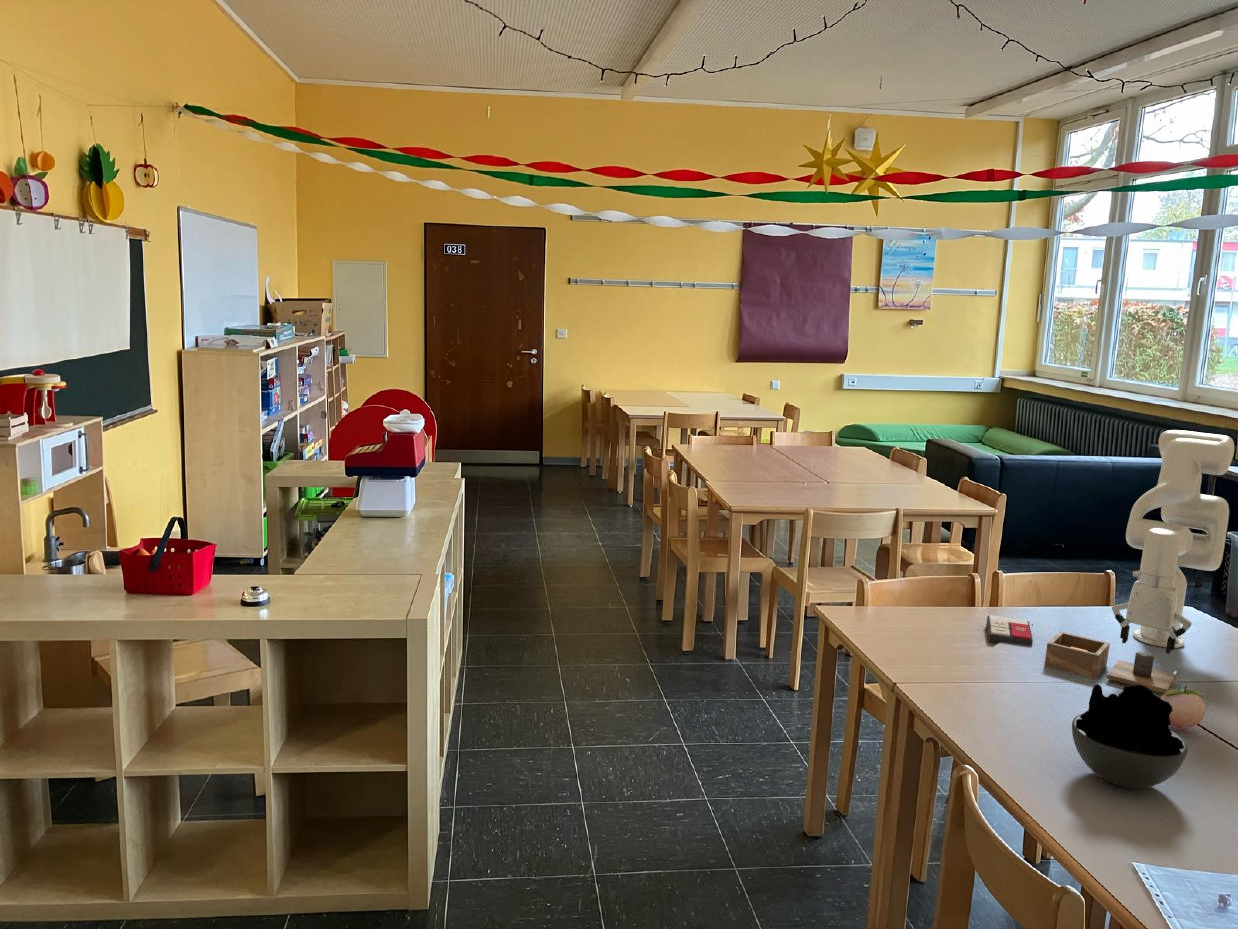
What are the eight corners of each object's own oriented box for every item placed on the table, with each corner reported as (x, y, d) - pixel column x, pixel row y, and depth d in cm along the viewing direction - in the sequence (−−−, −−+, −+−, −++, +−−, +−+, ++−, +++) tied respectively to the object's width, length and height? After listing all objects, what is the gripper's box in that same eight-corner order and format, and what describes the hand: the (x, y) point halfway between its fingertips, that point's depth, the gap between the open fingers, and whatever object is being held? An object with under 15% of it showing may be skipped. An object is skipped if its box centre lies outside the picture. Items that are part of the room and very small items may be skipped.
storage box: (1056, 657, 262) (1059, 631, 260) (1105, 669, 255) (1109, 643, 253) (1043, 669, 252) (1047, 643, 251) (1094, 682, 245) (1098, 655, 244)
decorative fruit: (1177, 739, 215) (1184, 695, 213) (1148, 723, 223) (1155, 680, 221) (1212, 736, 218) (1219, 693, 216) (1182, 720, 225) (1189, 678, 224)
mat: (1113, 669, 255) (1114, 665, 255) (1179, 686, 246) (1180, 682, 246) (1100, 686, 243) (1100, 682, 243) (1168, 704, 234) (1169, 700, 234)
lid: (1117, 667, 253) (1121, 641, 252) (1175, 682, 246) (1179, 655, 244) (1106, 682, 243) (1110, 654, 242) (1165, 697, 235) (1170, 669, 234)
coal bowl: (1191, 783, 195) (1206, 692, 192) (1164, 820, 180) (1180, 722, 177) (1084, 748, 208) (1096, 662, 205) (1051, 780, 193) (1063, 688, 190)
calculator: (989, 631, 269) (987, 612, 283) (987, 646, 270) (985, 627, 284) (1033, 638, 266) (1029, 618, 280) (1031, 653, 267) (1027, 632, 281)
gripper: (1113, 575, 242) (1104, 642, 246) (1194, 591, 232) (1183, 661, 235) (1120, 568, 248) (1111, 634, 251) (1199, 584, 238) (1188, 652, 241)
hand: (1146, 647), depth 243 cm, fingers open, 9 cm apart
